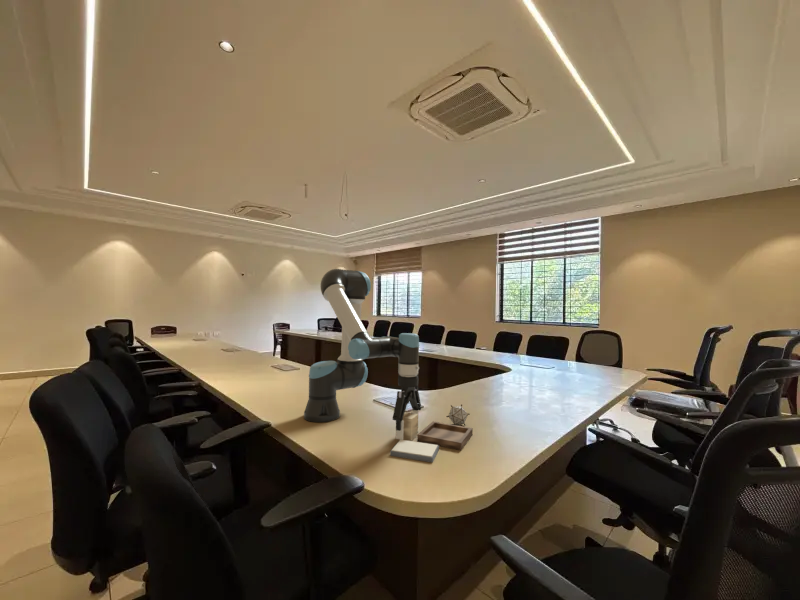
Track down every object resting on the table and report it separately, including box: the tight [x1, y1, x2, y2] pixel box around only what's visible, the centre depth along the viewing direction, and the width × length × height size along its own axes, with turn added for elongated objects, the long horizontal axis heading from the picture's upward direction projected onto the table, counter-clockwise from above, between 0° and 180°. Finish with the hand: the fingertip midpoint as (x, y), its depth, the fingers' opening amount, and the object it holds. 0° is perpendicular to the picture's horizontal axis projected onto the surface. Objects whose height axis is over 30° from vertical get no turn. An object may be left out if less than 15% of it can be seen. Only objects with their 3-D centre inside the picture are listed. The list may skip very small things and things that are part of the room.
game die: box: [446, 404, 471, 426], centre depth 138 cm, size 9×8×10 cm
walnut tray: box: [416, 420, 474, 451], centre depth 124 cm, size 16×16×2 cm
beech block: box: [403, 411, 419, 441], centre depth 124 cm, size 6×6×8 cm
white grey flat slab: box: [389, 439, 440, 463], centre depth 111 cm, size 14×10×2 cm
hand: (407, 433), depth 124 cm, fingers open, 13 cm apart
